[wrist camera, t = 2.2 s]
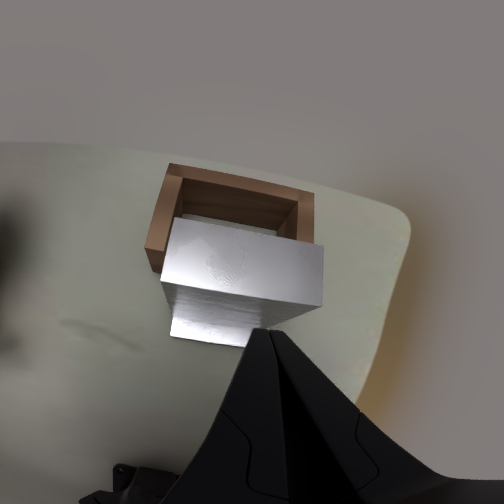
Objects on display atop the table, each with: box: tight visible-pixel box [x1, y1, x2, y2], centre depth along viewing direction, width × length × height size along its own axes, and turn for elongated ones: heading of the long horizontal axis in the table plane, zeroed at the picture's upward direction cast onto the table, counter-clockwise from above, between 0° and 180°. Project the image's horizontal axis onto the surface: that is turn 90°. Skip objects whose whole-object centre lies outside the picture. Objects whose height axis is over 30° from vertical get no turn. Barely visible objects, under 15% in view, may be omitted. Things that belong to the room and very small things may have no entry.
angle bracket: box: [160, 217, 324, 348], centre depth 16 cm, size 5×6×11 cm
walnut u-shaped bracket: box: [144, 163, 314, 273], centre depth 21 cm, size 6×10×5 cm, turn 84°
